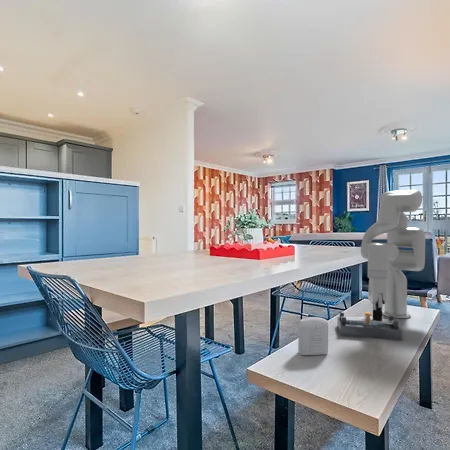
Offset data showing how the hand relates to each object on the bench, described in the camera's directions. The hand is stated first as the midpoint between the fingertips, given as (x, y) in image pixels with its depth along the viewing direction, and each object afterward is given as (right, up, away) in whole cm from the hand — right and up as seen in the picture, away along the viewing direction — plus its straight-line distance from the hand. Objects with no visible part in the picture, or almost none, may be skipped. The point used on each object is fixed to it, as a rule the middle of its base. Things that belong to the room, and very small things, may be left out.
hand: (377, 320), depth 125 cm
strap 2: (+2, -1, +1) cm, 3 cm away
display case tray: (-3, -6, +2) cm, 7 cm away
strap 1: (-8, -1, +3) cm, 9 cm away
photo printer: (-31, -6, -18) cm, 36 cm away
